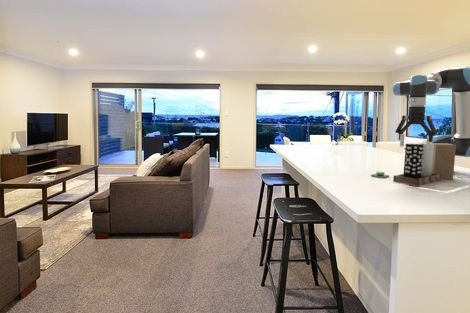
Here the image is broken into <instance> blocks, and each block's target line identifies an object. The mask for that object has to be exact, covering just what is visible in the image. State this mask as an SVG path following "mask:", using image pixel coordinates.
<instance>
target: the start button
mask: <svg viewBox="0 0 470 313" xmlns="http://www.w3.org/2000/svg"><path fill="white" fill-rule="evenodd" d="M375 174H377V175H385V174H386V173H385V171H380V170H379V171H375Z"/></svg>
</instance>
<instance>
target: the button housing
mask: <svg viewBox="0 0 470 313" xmlns="http://www.w3.org/2000/svg"><path fill="white" fill-rule="evenodd" d="M370 177H372V178H379V179H385V178H390V175H389V174H384V175H377V174H376V173H373V174H371V175H370Z"/></svg>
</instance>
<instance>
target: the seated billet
mask: <svg viewBox="0 0 470 313" xmlns="http://www.w3.org/2000/svg"><path fill="white" fill-rule="evenodd" d="M426 143H427V142H417V143H416V144H423V145H424V146H423V159H422V172H421V175H422V176H432V165H433V153H434V143H431V144H430V148H429V149H426Z"/></svg>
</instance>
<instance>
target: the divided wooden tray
mask: <svg viewBox="0 0 470 313" xmlns="http://www.w3.org/2000/svg"><path fill="white" fill-rule="evenodd" d="M403 174H404V173H401V174H396V175H393V179H392V181H393V182H396V183H401V184H402V183H403V184H406V186H408V187H413V188H420V187H421V186H424V185H428V184H431V183H436V182H440V181H442V180H441V174H434V173H432V176H422V175H421V178H420V179H414V178H408V177H403Z"/></svg>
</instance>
